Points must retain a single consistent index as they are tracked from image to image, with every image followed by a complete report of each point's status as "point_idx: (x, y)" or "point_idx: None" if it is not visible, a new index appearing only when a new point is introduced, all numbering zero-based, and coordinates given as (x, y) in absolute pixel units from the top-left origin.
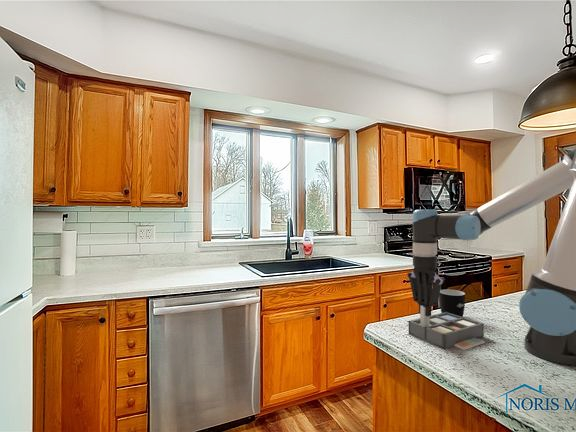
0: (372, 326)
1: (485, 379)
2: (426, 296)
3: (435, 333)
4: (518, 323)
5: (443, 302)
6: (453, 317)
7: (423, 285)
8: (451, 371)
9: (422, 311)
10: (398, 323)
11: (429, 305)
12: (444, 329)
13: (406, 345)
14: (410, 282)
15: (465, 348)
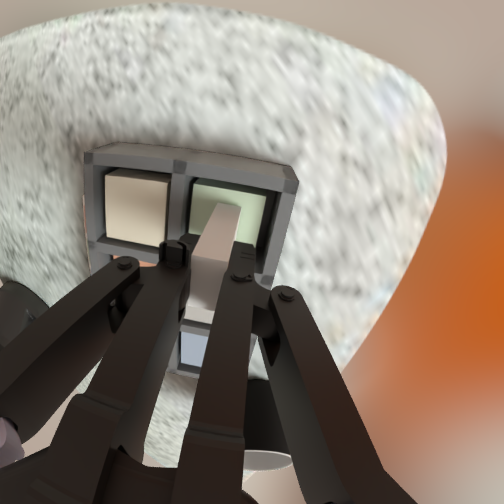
0: (438, 136)
1: (8, 88)
2: (139, 312)
3: (128, 152)
4: (152, 417)
5: (269, 422)
6: (199, 363)
7: (119, 413)
8: (52, 40)
9: (215, 238)
10: (378, 245)
11: (137, 260)
12: (129, 224)
13: (226, 48)
14: (366, 440)
15: (84, 202)
